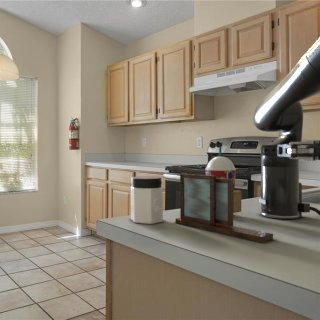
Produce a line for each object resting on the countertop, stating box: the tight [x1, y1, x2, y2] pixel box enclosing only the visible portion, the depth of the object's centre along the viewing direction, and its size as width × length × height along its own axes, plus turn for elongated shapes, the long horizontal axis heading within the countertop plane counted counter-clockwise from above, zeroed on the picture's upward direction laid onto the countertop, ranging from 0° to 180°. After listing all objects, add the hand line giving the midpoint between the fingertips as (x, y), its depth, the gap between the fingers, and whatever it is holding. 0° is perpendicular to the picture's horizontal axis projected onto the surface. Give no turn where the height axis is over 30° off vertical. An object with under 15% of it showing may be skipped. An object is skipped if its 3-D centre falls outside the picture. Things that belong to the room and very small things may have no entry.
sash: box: [216, 178, 242, 226], centre depth 82 cm, size 9×4×11 cm, turn 33°
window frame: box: [175, 173, 274, 244], centre depth 79 cm, size 23×4×13 cm, turn 33°
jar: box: [130, 175, 164, 225], centre depth 91 cm, size 9×8×12 cm
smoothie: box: [204, 146, 237, 191], centre depth 97 cm, size 8×8×20 cm
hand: (263, 150), depth 73 cm, fingers closed
